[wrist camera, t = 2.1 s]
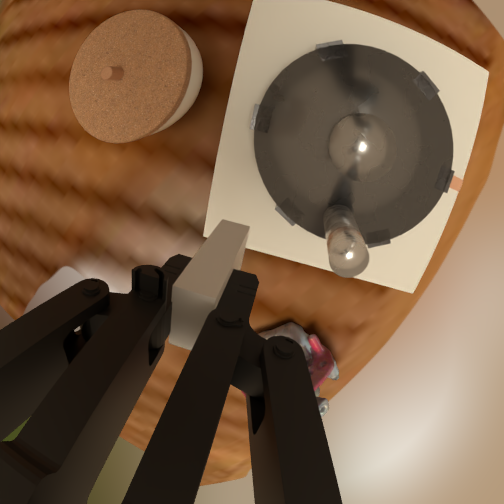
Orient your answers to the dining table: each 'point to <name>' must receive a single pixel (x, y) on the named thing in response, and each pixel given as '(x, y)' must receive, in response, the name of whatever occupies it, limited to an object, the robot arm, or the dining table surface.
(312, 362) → the grey maroon spiky lump
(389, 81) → the notched disc with hub
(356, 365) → the dining table surface
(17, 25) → the dining table surface
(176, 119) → the lidded jar
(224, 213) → the base board
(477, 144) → the dining table surface
